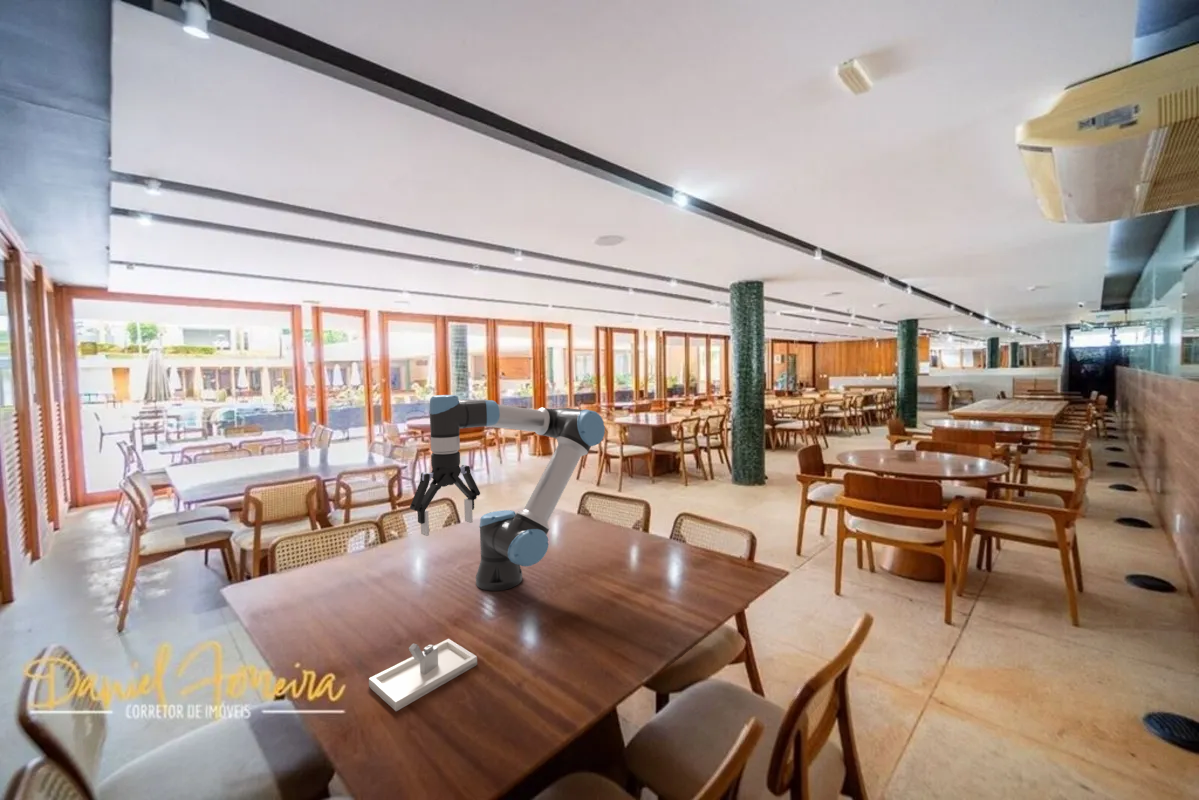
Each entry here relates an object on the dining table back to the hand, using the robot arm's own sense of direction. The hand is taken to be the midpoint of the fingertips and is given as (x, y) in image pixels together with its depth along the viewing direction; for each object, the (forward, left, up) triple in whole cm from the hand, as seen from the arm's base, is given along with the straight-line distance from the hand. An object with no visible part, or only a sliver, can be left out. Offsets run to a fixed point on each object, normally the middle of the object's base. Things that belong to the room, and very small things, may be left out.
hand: (447, 528), depth 131 cm
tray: (+17, +16, -27) cm, 35 cm away
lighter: (+17, +16, -26) cm, 35 cm away
